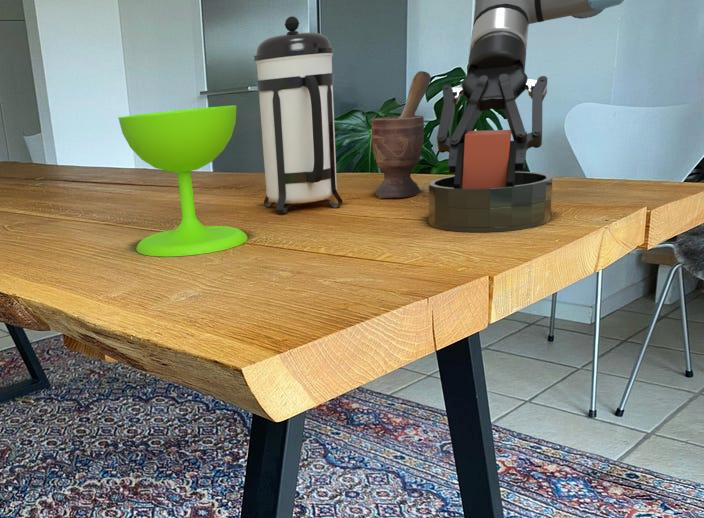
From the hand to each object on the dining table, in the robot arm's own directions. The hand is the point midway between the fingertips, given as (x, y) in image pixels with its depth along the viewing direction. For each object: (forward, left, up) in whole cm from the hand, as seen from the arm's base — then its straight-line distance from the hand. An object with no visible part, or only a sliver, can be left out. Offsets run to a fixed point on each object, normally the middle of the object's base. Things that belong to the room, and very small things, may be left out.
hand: (483, 189), depth 95 cm
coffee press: (+28, -23, -5) cm, 37 cm away
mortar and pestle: (+13, -33, -5) cm, 36 cm away
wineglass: (+39, +4, -5) cm, 40 cm away
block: (0, -4, -4) cm, 6 cm away
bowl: (-1, -5, -5) cm, 7 cm away
